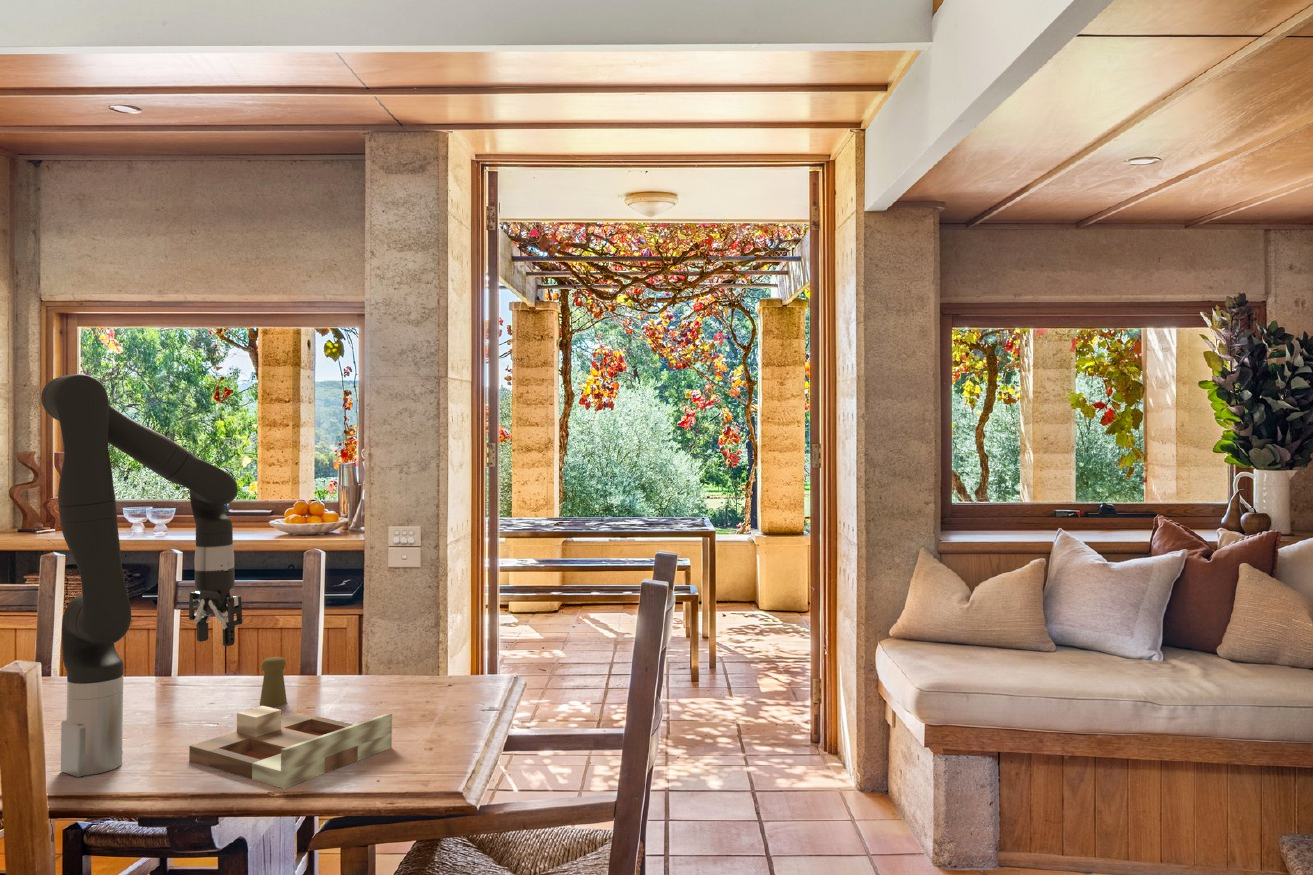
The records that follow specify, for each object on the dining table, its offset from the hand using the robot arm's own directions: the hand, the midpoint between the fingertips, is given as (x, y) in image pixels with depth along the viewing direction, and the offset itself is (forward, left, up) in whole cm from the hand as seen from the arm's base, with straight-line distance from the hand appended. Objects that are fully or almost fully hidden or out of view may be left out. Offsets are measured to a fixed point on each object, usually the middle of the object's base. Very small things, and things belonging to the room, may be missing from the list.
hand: (215, 643), depth 191 cm
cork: (+24, +13, -21) cm, 34 cm away
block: (+3, -11, -17) cm, 21 cm away
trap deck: (+3, -21, -20) cm, 30 cm away
